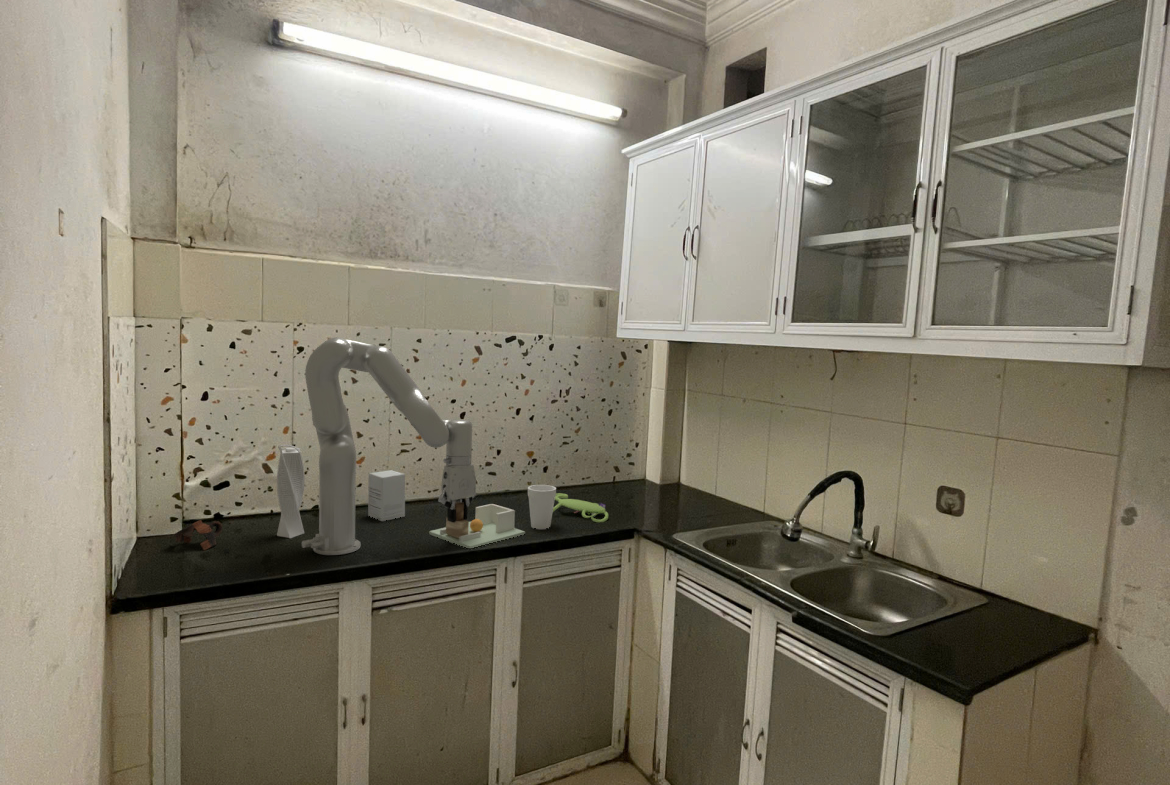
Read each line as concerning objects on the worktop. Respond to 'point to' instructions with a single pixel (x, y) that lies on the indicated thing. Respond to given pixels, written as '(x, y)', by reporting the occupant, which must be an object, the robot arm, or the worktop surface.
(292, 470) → the skyscraper
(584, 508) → the figurine
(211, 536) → the brown irregular piece
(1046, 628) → the worktop surface
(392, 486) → the supplement box
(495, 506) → the pitch
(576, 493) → the worktop surface
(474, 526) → the ball
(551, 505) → the foam cup
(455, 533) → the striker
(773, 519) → the worktop surface
